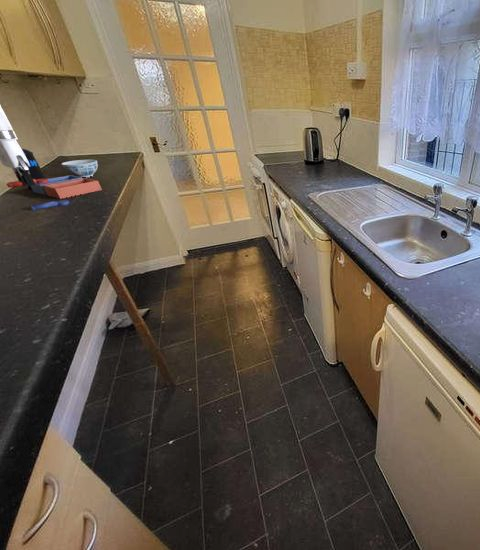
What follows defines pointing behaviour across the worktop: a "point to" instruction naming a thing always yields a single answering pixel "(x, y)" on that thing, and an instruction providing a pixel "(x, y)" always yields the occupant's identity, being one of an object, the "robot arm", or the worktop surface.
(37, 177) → the aerosol can
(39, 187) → the blue bin
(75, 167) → the chinaware
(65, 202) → the blue spoon
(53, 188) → the red bin
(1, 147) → the robot arm
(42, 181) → the red spoon
